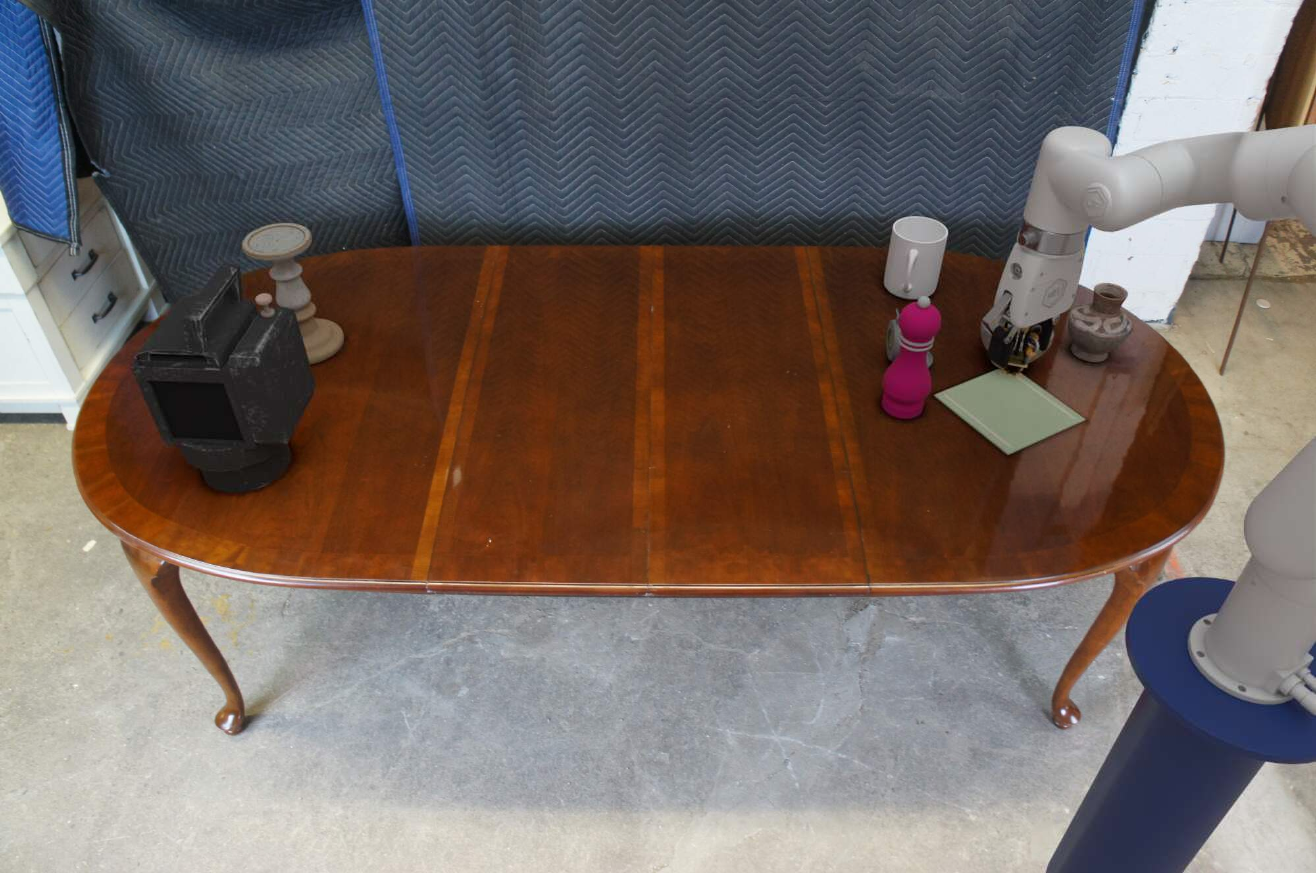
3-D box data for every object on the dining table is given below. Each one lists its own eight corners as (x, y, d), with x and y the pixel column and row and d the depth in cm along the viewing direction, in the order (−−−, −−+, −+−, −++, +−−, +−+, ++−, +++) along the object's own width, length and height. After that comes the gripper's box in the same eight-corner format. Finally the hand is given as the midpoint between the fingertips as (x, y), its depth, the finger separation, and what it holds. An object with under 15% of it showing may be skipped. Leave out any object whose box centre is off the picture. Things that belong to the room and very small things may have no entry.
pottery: (1134, 369, 160) (1159, 306, 152) (991, 385, 156) (1009, 321, 148) (1097, 331, 168) (1119, 269, 161) (961, 345, 164) (976, 283, 157)
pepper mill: (874, 415, 151) (895, 305, 138) (882, 388, 156) (902, 279, 143) (922, 425, 149) (948, 315, 136) (928, 397, 154) (953, 288, 141)
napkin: (1085, 420, 150) (1085, 419, 150) (1007, 455, 144) (1008, 453, 144) (1008, 366, 160) (1009, 364, 160) (933, 396, 154) (934, 394, 154)
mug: (932, 274, 182) (944, 217, 174) (940, 310, 173) (953, 252, 165) (881, 272, 182) (890, 215, 175) (885, 307, 173) (896, 249, 166)
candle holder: (353, 324, 169) (327, 219, 156) (333, 367, 160) (304, 259, 147) (282, 324, 170) (250, 218, 156) (258, 366, 160) (222, 258, 147)
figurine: (986, 376, 131) (1006, 327, 125) (990, 356, 134) (1010, 307, 129) (1023, 386, 130) (1044, 337, 124) (1026, 366, 133) (1047, 317, 128)
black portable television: (217, 428, 149) (150, 254, 129) (333, 432, 148) (284, 258, 128) (174, 497, 137) (94, 318, 118) (299, 503, 137) (240, 323, 117)
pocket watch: (940, 365, 161) (952, 314, 154) (901, 382, 157) (912, 330, 151) (905, 341, 166) (915, 290, 159) (867, 356, 162) (876, 305, 156)
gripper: (1023, 266, 112) (989, 389, 124) (1126, 228, 119) (1084, 348, 131) (976, 238, 117) (947, 359, 129) (1077, 202, 124) (1041, 321, 136)
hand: (1016, 352), depth 130 cm, fingers closed on figurine, 6 cm apart
